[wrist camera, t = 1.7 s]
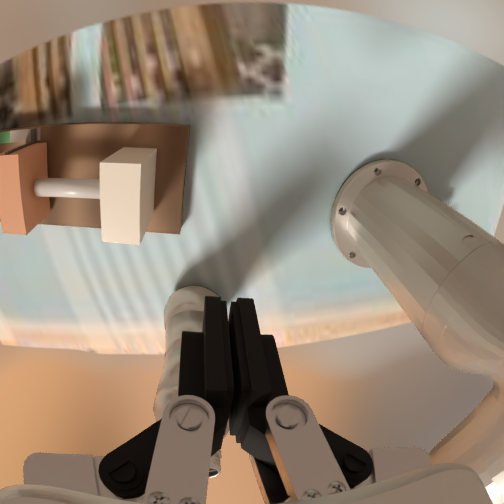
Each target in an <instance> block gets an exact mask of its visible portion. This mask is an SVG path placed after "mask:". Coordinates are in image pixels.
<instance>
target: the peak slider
mask: <svg viewBox="0 0 504 504" xmlns="http://www.w3.org/2000/svg"><path fill="white" fill-rule="evenodd" d="M38 178H48V169H47V142H44V143H36V129H31V142H30V143H27V144H22V145H19V146H17V147H14V148H12V149H9V150H7V151H4V152H2V153H0V220H1V225H2V231H3V233H9V234H21V235H27V234H28V233H29V232H30V231H31V230H32V229H33V228H34V227H35V226H36V225H37V224H39V223H40V222H41V221H42V220H43V219H44V218H45V217H46V216H47V215H48V214H49V213H51V211H50V200H49V197H38V196H36V195H35V192H34V185H35V182H36V180H37V179H38Z"/></svg>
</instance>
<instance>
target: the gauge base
mask: <svg viewBox="0 0 504 504" xmlns="http://www.w3.org/2000/svg"><path fill="white" fill-rule="evenodd" d="M31 129H36V143H44V142H47V169H48V178H79V179H100V162H101V161H103V160H104V159H106V158H107V157H109V156H111V155H112V154H114V153H115V152H117V151H118V150H120V149H122V148H123V147H135V148H156V149H157V157H156V172H155V191H154V214H153V216H152V219H151V221H150V223H149V225H148V227H147V230H146V232H157V233H169V234H180V231H181V222H182V207H183V194H184V182H185V171H186V161H187V151H188V142H189V134H190V125H177V124H160V123H131V122H94V123H66V124H50V125H38V126H27V127H18V128H10V129H2V130H0V153H2V152H4V151H7V150H9V149H12V148H14V147H17V146H19V145H22V144H27V143H30V142H31ZM49 200H50V211H51V213H49V214H48V215H47V216H46V217H45V218H44V219H43V220H42V221H41V222H40V223H39V224H47V225H62V226H76V227H90V228H101V212H100V199H93V198H70V197H49ZM0 222H1V220H0Z"/></svg>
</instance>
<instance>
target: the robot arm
mask: <svg viewBox="0 0 504 504" xmlns="http://www.w3.org/2000/svg"><path fill="white" fill-rule="evenodd" d="M375 168H376V169H375ZM374 170H375V171H374ZM340 208H341V209H340ZM339 209H340V210H339ZM330 222H331V233H332V236H333V240H334V242H335V244H336V246H337V248H338V249H339V251H340V252H341V253H342V255H343V256H344V257H345V258H346V259H347V260H348V261H350V262H352V263H354V264H355V265H358V266H361V267H367V268H372V269H373V271H374V272H375V273H376V274H377V276H378V277H379V278H380V280H381V281H382V282H383V283H384V285H385V286H386V287H387V289H388V290H389V291H390V293H391V294H392V295H393V297H394V298H395V299H396V301H397V302H398V303H399V305H400V306H401V307H402V309H403V310H404V311H405V313H406V314H407V316H408V317H409V318H410V320H411V321H412V323H413V324H414V325H415V327H416V328H417V330H418V331H419V332H420V334H421V335H422V337H423V338H424V339H425V341H426V342H427V343H428V345H429V346H430V348H431V349H432V351H433V352H434V353H435V355H436V356H437V357H438V358H439V359H440V360H441V361H442V362H443V363H444V364H446V365H447V366H449V367H451V368H453V369H455V370H458V371H462V372H467V373H474V374H480V375H484V376H487V377H489V378H491V379H492V381H493V387H492V389H491V390H490V391H489V393H488V394H487V395H486V396H485V398H484V399H483V400H482V401H481V403H480V404H479V405H478V406H477V407H476V408H475V409H474V410H473V411H472V412H471V413H470V414H469V415H468V416H467V417H466V418H465V419H464V420H463V421H462V422H461V423H460V424H458V425H457V426H456V427H455V428H454V429H453V430H452V431H451V432H450V433H448V434H447V436H445V437H444V438H443V439H442V440H441V441H440V442H439V443H438V444H437V445H436V446H435V447H434V448H433V449H432V450H431V451H430V452H429V453H428V452H427V451H426V450H425V449H423V448H421V447H415V446H413V447H399V448H374V449H372V450H370V451H366V450H364V449H363V448H361V447H359V446H357V445H356V444H354V443H352V442H350V441H348V440H346V439H345V438H343V437H341V436H339V435H337V434H335V433H334V432H332V431H330V430H328V429H327V428H325V427H323V426H322V425H320V424H318V422H317V419H316V417H315V415H314V413H313V411H312V409H311V408H310V406H309V405H308V404H307V403H306V402H305V401H304V400H302V399H300V398H298V397H295V396H289V395H288V391H287V387H286V383H285V379H284V375H283V371H282V367H281V363H280V359H279V355H278V351H277V347H276V343H275V339H274V336H273V335H261V334H260V329H259V324H258V319H257V314H256V310H255V305H254V300H253V299H250V298H237V301H236V302H231V306H230V313H229V320H228V316H227V305H226V301H221V298H220V297H216V296H205V301H204V313H203V326H202V332H191V331H182V337H181V352H180V368H179V387H178V397H176V398H174V399H172V400H171V401H170V402H169V403H168V404H167V405H166V407H165V409H164V412H163V416H162V418H161V419H160V420H159V421H157V422H156V423H154V424H153V425H151V426H150V427H148V428H147V429H145V430H144V431H143V432H141V433H139V434H138V435H136V436H135V437H134V438H132V439H130V440H129V441H127V442H126V443H124V444H123V445H121V446H120V447H118V448H116V449H115V450H113V451H112V452H110V453H109V454H107V455H106V456H101V457H100V456H99V457H93V455H79V454H76V455H75V454H52V453H33V454H31V455H30V456H28V457H27V459H26V460H25V462H24V468H23V471H24V484H23V485H14V486H8V487H5V488H2V489H1V490H0V504H206V495H207V485H208V477H209V468H210V459H211V457H212V456H213V455H214V454H215V453H216V452H217V451H219V450H220V449H221V446H222V441H223V436H224V435H225V432H226V428H227V423H228V419H229V430H230V435H236V442H237V443H241V448H242V449H243V450H245V451H246V452H248V453H249V457H250V461H251V464H252V467H253V470H254V473H255V476H256V479H257V482H258V485H259V488H260V491H261V494H262V496H263V500H264V503H265V504H504V244H503V243H501V242H500V241H499V240H497V239H496V238H495V237H493V236H492V235H491V234H489V233H488V232H487V231H485V230H484V229H482V228H481V227H480V226H478V225H477V224H475V223H474V222H472V221H471V220H470V219H468V218H467V217H465V216H464V215H462V214H461V213H459V212H458V211H456V210H455V209H453V208H452V207H450V206H448V205H447V204H445V203H444V202H442V201H441V200H439V199H437V198H436V197H434V196H432V195H431V194H429V193H428V189H427V186H426V184H425V182H424V180H423V178H422V177H421V176H420V174H419V173H418V172H417V171H416V170H414V169H413V168H412V167H411V166H409V165H407V164H405V163H403V162H399V161H396V160H386V159H384V160H378V161H374V162H371V163H369V164H367V165H364V166H363V167H361V168H360V169H358V170H357V171H355V172H354V173H353V174H352V175H351V176H350V177H349V178H348V179H347V180H346V182H345V183H344V184H343V186H342V187H341V188H340V190H339V192H338V194H337V196H336V198H335V201H334V204H333V207H332V212H331V220H330Z"/></svg>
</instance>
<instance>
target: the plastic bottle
mask: <svg viewBox="0 0 504 504" xmlns="http://www.w3.org/2000/svg"><path fill="white" fill-rule="evenodd" d="M205 296H216V297H218V296H217V295H216V294H215V293H214V292H212V291H211V290H209V289H207V288H204V287H201V286H187V287H184V288H181V289H179V290H177V291H175V292H174V293H173V294H172V295H171V296H170V297H169V299H168V302H167V304H166V306H165V309H164V325H165V330H166V352H165V358H164V364H163V370H162V375H161V378H160V382H159V385H158V389H157V393H156V397H155V401H154V406H153V412H154V416H155V419H156V422H157V421H159V420H160V419H161V418H162V416H163V412H164V409H165V407H166V405H167V404H168V403H169V402H170V401H171V400H172V399H174V398H176V397H178V387H179V368H180V352H181V337H182V331H191V332H202V326H203V313H204V301H205ZM228 432H229V419H228V423H227V428H226V432H225V435H224V436H223V439H224V437H225V436H226V435H227V433H228ZM220 459H221V450H219V451H217V452H216V453H215V454H214V455H213V456H212V457H211V459H210V468H209V477H208V478H212V477H215V476H218V475H219V474H220V471H221V465H220Z"/></svg>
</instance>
